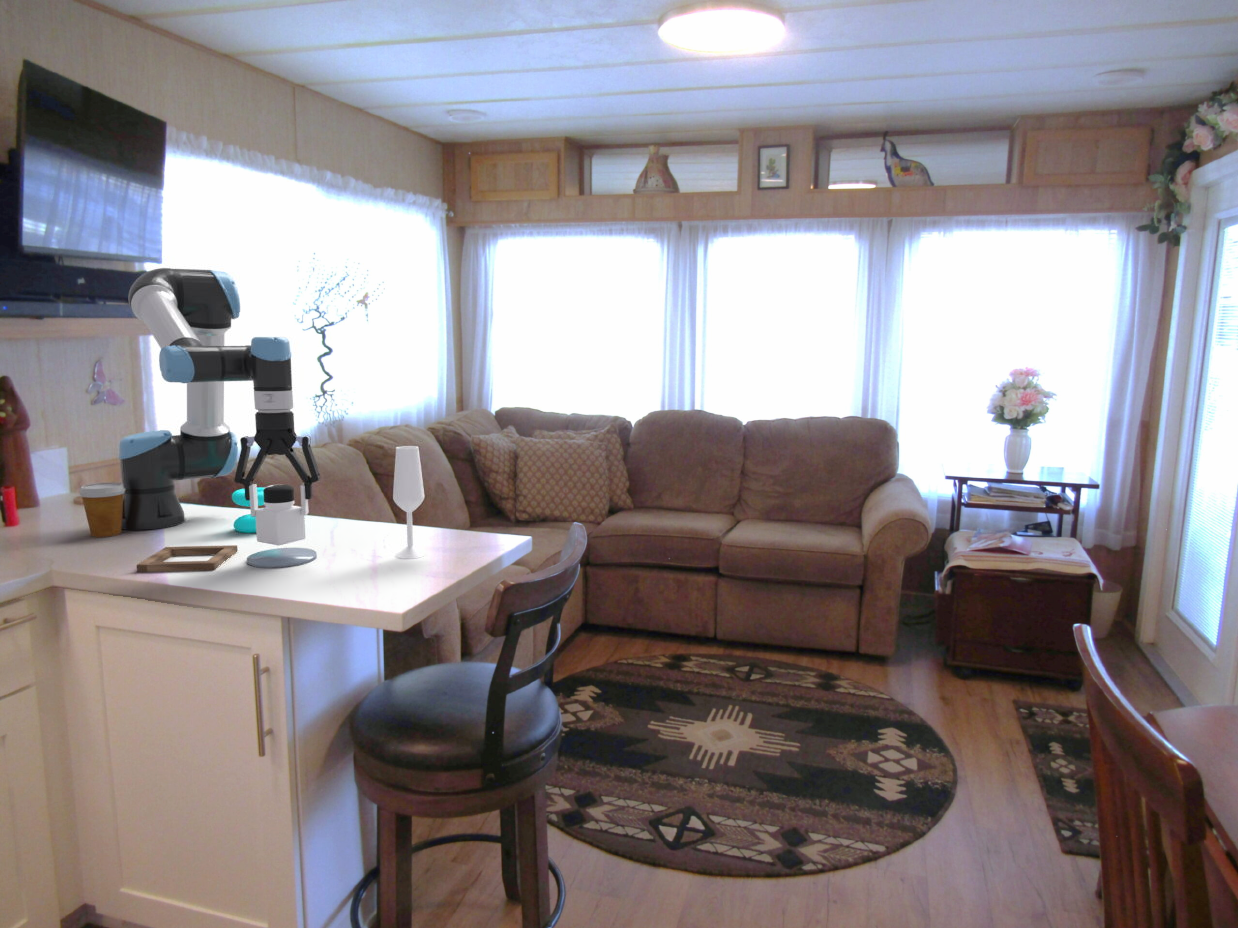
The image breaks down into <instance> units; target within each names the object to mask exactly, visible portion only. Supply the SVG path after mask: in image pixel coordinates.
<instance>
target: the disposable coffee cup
mask: <svg viewBox="0 0 1238 928" xmlns="http://www.w3.org/2000/svg"><path fill="white" fill-rule="evenodd" d="M125 490H126V489H125V488H124V486H123V484H122V482H109V481H108V482H96V483H95V482H94V483H90V484H84V485H82V486H80V490H79V492H78V493H79V495H80V497H81V499H82V503H83V506H84V507H83V508H84V511H85V515H86V520H87V523H88V527H89V533H90V536H91V537H94V538H106V537H107V538H108V537H114V536H118V535H120V534H122V530H123V529H122V513H123V495H124V493H125Z"/></svg>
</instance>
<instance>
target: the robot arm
mask: <svg viewBox="0 0 1238 928" xmlns="http://www.w3.org/2000/svg"><path fill="white" fill-rule="evenodd" d="M127 297H128V305H129V308H130V310H131V311H132V313H133V315H134V316H135V317H136V318H137V319H138V320H139V321H141V322H142V323H145V325H146V327H147V329H148V330H149V331H150V333H151V335H152V336H153V338H154V339H155V341H156V342H157V344H158V346H159V348H160V351H159V355H158V360H159V361H158V362H159V370H160V372H161V377H162V379H163V380H164V381H165V382H168V383H181V384H186V421H185V422H183V424H182V425H181V426H180V429H179V434H176V435H175V434H174V435H172V432H171V431H170V430H167V429H163V430H162V429H161V430H151V431H145V432H139V433H134V434H131V435H127V436H124V437H123V438H121V440H120V441H119V444H118V447H119V448H118V452H119V453H118V459H119V462H120V463H119V465H120V475H121V483H122V484H123V486H124V488H125V489H126V490H125V493H124V495H123V513H122V529H121V530H129V531H131V530H132V531H133V530H136V531H137V530H138V531H139V530H141V531H143V530H153V529H162V528H168V527H174V526H177V525H180V524H182V523H184V522H186V521H185V520H186V519H185V511H184V509H183V507H182V505H181V503H180V500H179V498H178V496H177V495H178V494H176V489H175V486H176V485H175V481H185V480H187V481H188V480H195V479H197V480H198V479H206V478H207V479H209V478H211V479H212V478H213V479H214V478H217V477H223V476H227V475H230V474H231V473H232V472H233V470H234V469H235V467H236V471H235V475H234V479H233V481H234V483H236V484H240V485H243V487H244V488H243V489H245V499H246V500H250V506H249V509H250V514H251V517H254V516H255V510H256V509H259V506H258V499H257V483H254V481H255V479H256V476H257V475H258V473H259V471H260V469H261V467H262V466H263V463H264V461H265V460H266V459H267V456H273V455H274V456H275V455H278V456H285V457H286V458H287V459H288V461H289V462H290V464H291V466H292V467H293V468H294V470H295V471H296V473H297V475H298V476H299V478H300V479H301V481H302V484H301V485H300V486H299V487H300V500H301V501H300V504H301V505H300V507H302V516H303V515H304V516H306V515H308V514H309V500H311V499H312V498H313V496H314V495H313V483H317V482H318V481H320V480H321V478H322V476H321V474H320V471H319V468H318V465H317V462H316V459H315V456H314V453H313V450H312V446H311V440H312V438H311V436H310V435H305V436H304V435H297V433H296V431H295V416H294V415H295V414H294V412H293V411H292V409H293V408H294V397H293V382H292V381H293V377H292V360H291V359H292V352H291V345H290V341H289V339H288V337H284V336H255V337H252V338H251V342H250V345H225V333H226V332H228V330H230V329H231V328H232V320H236V319H238V318H239V316H240V312H241V301H240V295H239V290H238V288H237V285H236V282H235V280H234V278H233V277H232V276H231V275H230V274H229V273H227V272H225V271H218V270H212V269H194V268H193V269H189V268H188V269H187V268H169V267H166V268H165V267H161V268H155V269H151V270H149V271H146V272H145V273H143V274H141V275H140V276H139V277H138V278H136V280H135V281H134V282H133V283H132V285H131V286H130V288H129V291H128V296H127ZM225 382H253V384H252V385H253V400H254V409H255V410H256V412H255V414H254V416H255V435H253V436H248V435H245V436H242V437H240V440H239V441H240V447H241V448H240V453H239V447H238V438H237V436H236V435H235V433H234V432H232V431H231V429H230V426H229V425H228V424H226V422H225V421H224V417H225V415H224V413H225V407H224V404H225V398H224V397H225ZM297 442H298V445H299V446H300V447H301V450H302V453H303V455H304V459H305V461H306V464H307V468H308V469H309V472H308V471H307V469H306V467H305V466H304V465H303V464H304V463H302V461H301V459H300V458H299V456H298V454H297V452H296V450H295V449H294V448H293V446H294V445H295V444H296V443H297ZM254 443H256V445H257V446H258V447H259V448H260V449H259V451H258V453H257V455H256V457H255V460H254V461H253V464H252V465H251V468H250V469H249V471H248V473H247V474H246V472H247V466H248V463H249V458H250V453H251V449H252V448H251V447H253V446H254ZM238 455H239V456H238ZM237 461H238V463H237ZM236 464H237V466H236ZM309 473H310V474H309ZM245 476H246V477H245Z"/></svg>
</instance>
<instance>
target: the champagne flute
mask: <svg viewBox="0 0 1238 928" xmlns="http://www.w3.org/2000/svg"><path fill="white" fill-rule="evenodd" d="M394 457H395V461H394V475H393V476H394V477H393V493H392V499H393V502H394V503H395V504H396V506H397V507H399V508H400V509H401V510H402V511H403V512H406V536H407V539H406V540H407V541H406V543H407V546H406V547H405V548H403V549H402V550H400V551H399V552H397V553H396V554H394V556H395V557H396V558H397V559H403V560H409V559H410V560H413V559H419V558H422V557H425V556H426V555H427V554H426V552H424V551H423V550H421V549H419V548H417V547H416V546H414V534H413V512H415V510H417V508H419V507H420V506H421V505H422V503H423V501H424V500H425V491H424V481H423V474H422V464H421V456H420V450H419V446H416V445H415V446H414V445H403V446H396V447H395V456H394Z"/></svg>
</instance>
